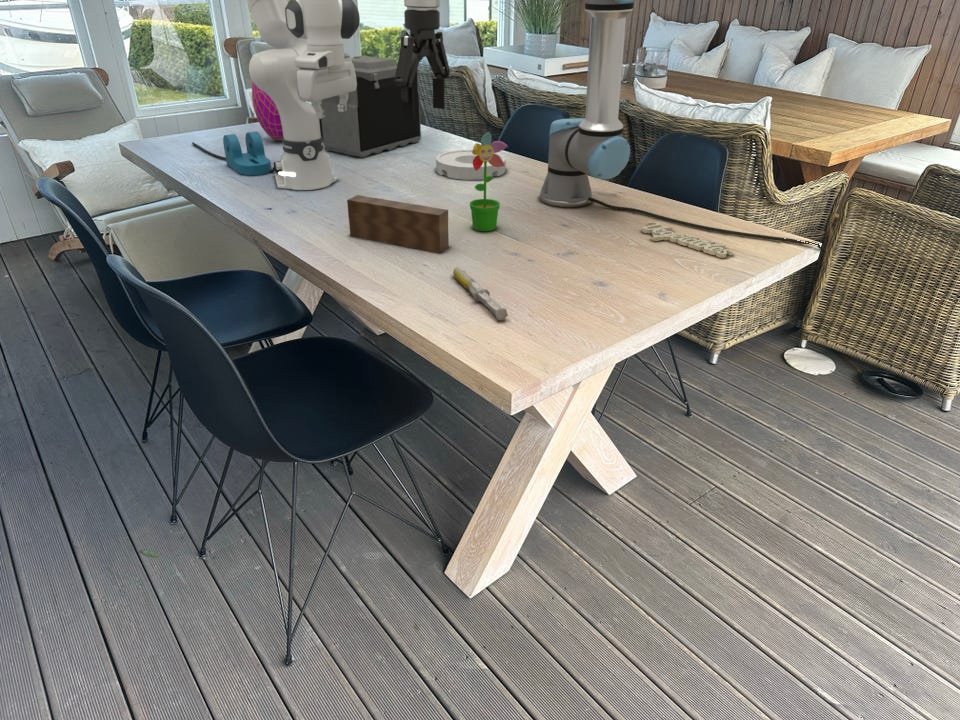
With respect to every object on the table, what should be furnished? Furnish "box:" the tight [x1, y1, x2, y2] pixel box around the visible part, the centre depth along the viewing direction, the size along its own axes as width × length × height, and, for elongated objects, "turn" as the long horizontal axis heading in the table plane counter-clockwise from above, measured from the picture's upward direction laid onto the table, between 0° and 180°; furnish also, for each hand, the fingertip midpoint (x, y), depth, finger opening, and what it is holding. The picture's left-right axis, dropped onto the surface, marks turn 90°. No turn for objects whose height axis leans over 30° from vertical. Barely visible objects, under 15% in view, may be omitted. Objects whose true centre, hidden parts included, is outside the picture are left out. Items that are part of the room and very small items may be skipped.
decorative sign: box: [641, 221, 733, 259], centre depth 174 cm, size 26×1×10 cm
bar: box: [346, 194, 450, 254], centre depth 170 cm, size 26×5×10 cm, turn 65°
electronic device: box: [319, 55, 422, 159], centre depth 250 cm, size 37×22×30 cm, turn 144°
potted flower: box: [469, 131, 509, 232], centre depth 175 cm, size 9×8×25 cm
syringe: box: [452, 266, 509, 321], centre depth 145 cm, size 25×4×3 cm, turn 21°
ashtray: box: [435, 149, 507, 181], centre depth 229 cm, size 23×23×4 cm
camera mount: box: [222, 131, 272, 176], centre depth 226 cm, size 18×10×10 cm, turn 35°
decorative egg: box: [251, 80, 306, 142], centre depth 257 cm, size 19×19×30 cm
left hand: (331, 114), depth 178 cm, fingers open, 8 cm apart
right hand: (424, 113), depth 157 cm, fingers open, 13 cm apart
